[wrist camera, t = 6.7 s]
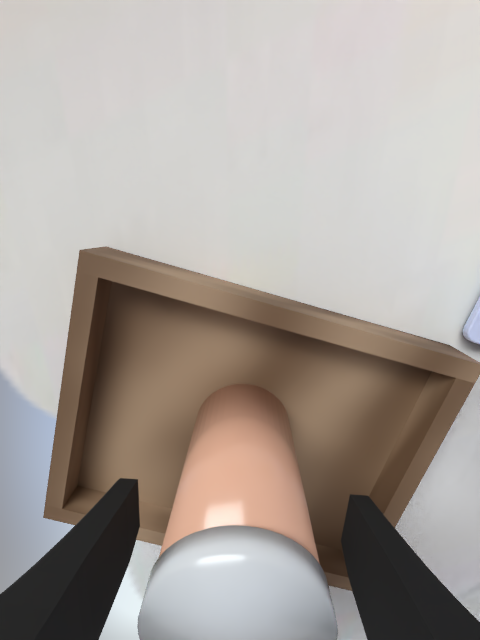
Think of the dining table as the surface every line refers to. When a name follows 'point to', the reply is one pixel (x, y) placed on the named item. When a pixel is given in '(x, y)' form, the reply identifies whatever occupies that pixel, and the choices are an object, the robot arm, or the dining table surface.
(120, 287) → the walnut tray
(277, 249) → the dining table surface
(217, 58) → the dining table surface
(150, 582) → the terracotta shaker
